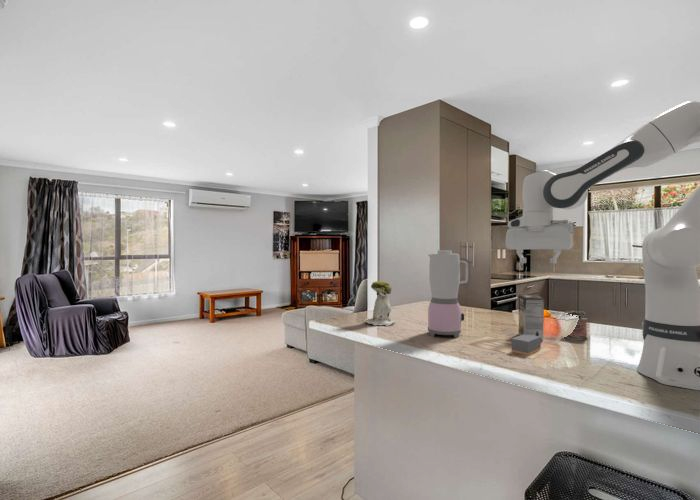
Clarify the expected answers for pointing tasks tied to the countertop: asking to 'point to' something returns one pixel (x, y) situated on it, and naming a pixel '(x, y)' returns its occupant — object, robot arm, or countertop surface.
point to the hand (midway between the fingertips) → (537, 263)
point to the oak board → (503, 346)
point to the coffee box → (531, 315)
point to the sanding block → (526, 344)
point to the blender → (446, 293)
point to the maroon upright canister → (578, 327)
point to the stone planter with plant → (381, 304)
